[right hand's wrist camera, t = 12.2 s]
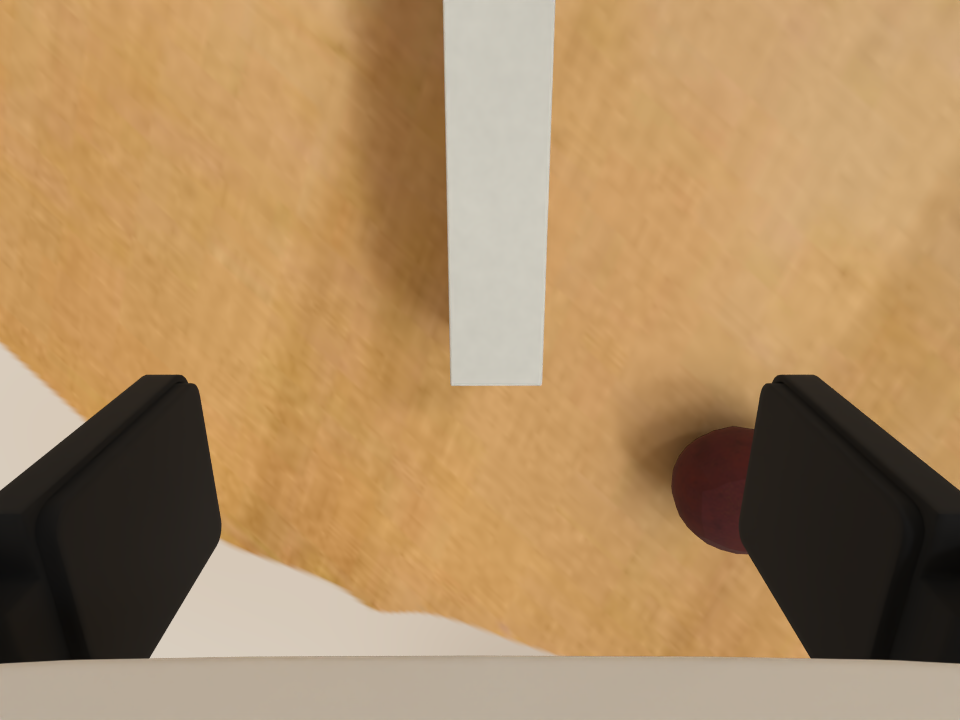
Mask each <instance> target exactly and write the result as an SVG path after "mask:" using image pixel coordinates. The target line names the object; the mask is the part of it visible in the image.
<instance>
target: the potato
mask: <svg viewBox="0 0 960 720" xmlns="http://www.w3.org/2000/svg"><path fill="white" fill-rule="evenodd" d="M753 435H754V429H748V428H742V427H735V426H731V427H727V428H723V429H719V430H715V431H712V432H710V433H708V434H706V435H704V436H701V437H699V438H697V439H696V440H695V441H693V442H692V443H691V444H689V445H688V446H687V447H686V448H685V449H684V451H683V452H682V453H681V454H680V456H679V458H678V460H677V462H676V464H675V466H674V469H673V475H672V494H673V497H674V501H675V504H676V507H677V510H678V513H679V515H680V517H681V518H682V520H683V521H684V523H685V524H686V526H687V527H688V528H689V529H690V530H691V531H692V532H693V533H694V534H695V535H696V536H698V537H699V538H700V539H702V540H703V541H704V542H706V543H707V544H709V545H711V546H713V547H716V548H718V549H720V550H724V551H728V552H732V553H735V554H748V553H747V551H746V549H745V548H744V546H743V544H742V542H741V539H740V535H739V517H740V511H741V505H742V500H743V494H744V488H745V482H746V476H747V470H748V464H749V458H750V452H751V446H752V441H753Z"/></svg>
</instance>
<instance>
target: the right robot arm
mask: <svg viewBox="0 0 960 720" xmlns="http://www.w3.org/2000/svg"><path fill="white" fill-rule="evenodd" d="M220 535H221V517H220V511H219V505H218V500H217V494H216V488H215V482H214V476H213V470H212V464H211V458H210V452H209V446H208V441H207V435H206V429H205V423H204V417H203V411H202V405H201V399H200V394H199V390H198V388H197V386H196V385H195V384H192V383H188V382H187V380H186V378H185V377H184V376H183V375H145V376H143V377H141V378H140V379H139V380H138V381H136V382H135V383H134V384H133V385H131V386H130V387H129V388H128V389H126V390H125V391H124V392H123V393H121V394H120V395H119V396H118V397H116V398H115V399H114V400H113V401H111V402H110V403H109V404H108V405H106V406H105V407H104V408H103V409H101V410H100V411H99V412H98V413H96V414H95V415H94V416H93V417H91V418H90V419H89V420H88V421H86V422H85V423H84V424H83V425H82V426H80V427H79V428H78V429H77V430H75V431H74V432H73V433H72V434H70V435H69V436H68V437H67V438H65V439H64V440H63V441H62V442H60V443H59V444H58V445H57V446H55V447H54V448H53V449H52V450H50V451H49V452H48V453H47V454H45V455H44V456H43V457H42V458H40V459H39V460H38V461H37V462H35V463H34V464H33V465H32V466H30V467H29V468H28V469H27V470H25V471H24V472H23V473H22V474H20V475H19V476H18V477H17V478H15V479H14V480H13V481H12V482H10V483H9V484H8V485H7V486H6V487H4V488H3V489H2V490H1V491H0V720H960V491H959V490H958V489H957V488H956V487H955V486H953V485H952V484H951V483H950V482H948V481H947V480H946V479H945V478H943V477H942V476H941V475H940V474H938V473H937V472H936V471H935V470H933V469H932V468H931V467H930V466H928V465H927V464H926V463H925V462H923V461H922V460H921V459H920V458H918V457H917V456H916V455H915V454H913V453H912V452H911V451H910V450H908V449H907V448H906V447H905V446H903V445H902V444H901V443H900V442H898V441H897V440H896V439H895V438H893V437H892V436H891V435H890V434H888V433H887V432H886V431H885V430H883V429H882V428H881V427H880V426H878V425H877V424H876V423H875V422H874V421H872V420H871V419H870V418H869V417H867V416H866V415H865V414H864V413H862V412H861V411H860V410H859V409H857V408H856V407H855V406H854V405H852V404H851V403H850V402H849V401H847V400H846V399H845V398H844V397H842V396H841V395H840V394H839V393H837V392H836V391H835V390H834V389H832V388H831V387H830V386H829V385H827V384H826V383H825V382H824V381H822V380H821V379H820V378H819V377H817V376H815V375H777V376H776V377H775V378H774V380H773V382H772V383H768V384H765V385H764V386H763V388H762V390H761V394H760V399H759V405H758V411H757V417H756V423H755V429H754V435H753V441H752V446H751V452H750V458H749V464H748V470H747V476H746V482H745V488H744V494H743V500H742V505H741V511H740V517H739V535H740V539H741V542H742V544H743V546H744V548H745V549H746V551H747V553H748V554H749V556H750V558H751V559H752V561H753V563H754V564H755V566H756V568H757V569H758V571H759V573H760V574H761V576H762V578H763V579H764V581H765V583H766V584H767V586H768V588H769V589H770V591H771V593H772V594H773V596H774V598H775V599H776V601H777V603H778V604H779V606H780V608H781V609H782V611H783V613H784V614H785V616H786V618H787V619H788V621H789V623H790V624H791V626H792V628H793V629H794V631H795V633H796V634H797V636H798V638H799V640H800V641H801V643H802V645H803V646H804V648H805V650H806V651H807V653H808V655H809V656H810V658H811V659H808V658H753V657H652V656H312V657H311V656H308V657H207V658H154V659H153V658H152V659H149V658H150V656H151V654H152V653H153V651H154V649H155V648H156V646H157V645H158V643H159V641H160V640H161V638H162V636H163V634H164V633H165V631H166V629H167V628H168V626H169V624H170V623H171V621H172V619H173V618H174V616H175V614H176V613H177V611H178V609H179V608H180V606H181V604H182V603H183V601H184V599H185V598H186V596H187V594H188V593H189V591H190V589H191V588H192V586H193V584H194V583H195V581H196V579H197V578H198V576H199V574H200V573H201V571H202V569H203V568H204V566H205V564H206V563H207V561H208V559H209V558H210V556H211V554H212V553H213V551H214V549H215V548H216V546H217V544H218V542H219V539H220Z"/></svg>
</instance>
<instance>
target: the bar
mask: <svg viewBox="0 0 960 720" xmlns="http://www.w3.org/2000/svg"><path fill="white" fill-rule="evenodd" d="M554 25H555V0H443V34H444V83H445V133H446V182H447V232H448V281H449V331H450V380H451V385H452V386H539V385H542V370H543V341H544V312H545V284H546V255H547V226H548V198H549V169H550V140H551V112H552V83H553V54H554Z"/></svg>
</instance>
